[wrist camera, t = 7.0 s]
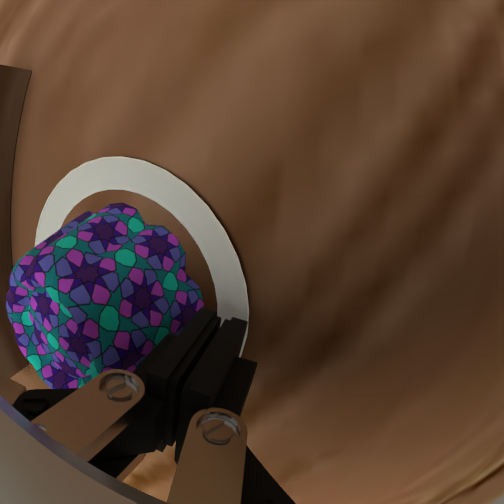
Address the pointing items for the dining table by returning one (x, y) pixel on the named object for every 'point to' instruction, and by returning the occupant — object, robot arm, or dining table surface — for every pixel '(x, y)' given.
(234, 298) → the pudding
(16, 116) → the rail
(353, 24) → the dining table surface
